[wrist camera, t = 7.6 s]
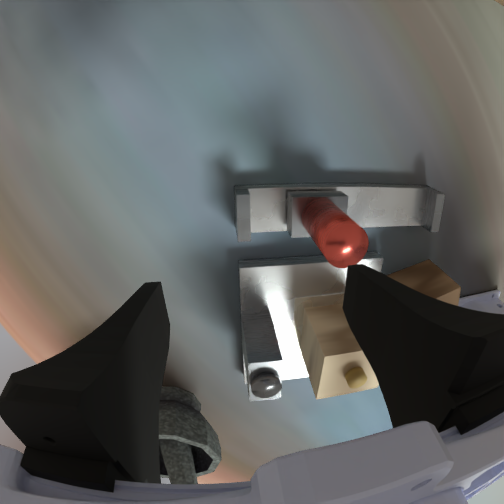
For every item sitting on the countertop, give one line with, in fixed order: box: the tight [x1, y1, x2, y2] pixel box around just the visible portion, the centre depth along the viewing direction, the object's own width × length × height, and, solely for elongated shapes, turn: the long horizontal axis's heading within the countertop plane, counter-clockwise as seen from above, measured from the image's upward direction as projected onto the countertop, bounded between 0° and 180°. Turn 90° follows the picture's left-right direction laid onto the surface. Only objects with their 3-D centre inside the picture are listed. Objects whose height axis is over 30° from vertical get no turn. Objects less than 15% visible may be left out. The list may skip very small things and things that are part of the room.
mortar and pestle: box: [159, 387, 221, 484], centre depth 24 cm, size 11×9×12 cm
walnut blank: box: [386, 259, 461, 306], centre depth 24 cm, size 5×4×5 cm
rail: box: [234, 183, 445, 242], centre depth 21 cm, size 15×3×2 cm, turn 91°
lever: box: [287, 191, 369, 268], centre depth 18 cm, size 4×3×6 cm
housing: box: [300, 304, 379, 399], centre depth 22 cm, size 5×4×6 cm
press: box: [238, 251, 383, 401], centre depth 23 cm, size 11×12×7 cm
